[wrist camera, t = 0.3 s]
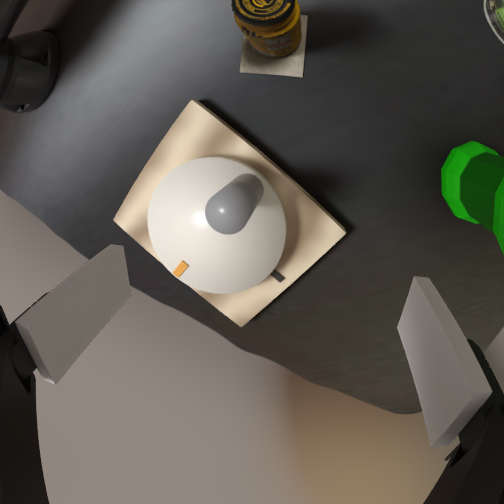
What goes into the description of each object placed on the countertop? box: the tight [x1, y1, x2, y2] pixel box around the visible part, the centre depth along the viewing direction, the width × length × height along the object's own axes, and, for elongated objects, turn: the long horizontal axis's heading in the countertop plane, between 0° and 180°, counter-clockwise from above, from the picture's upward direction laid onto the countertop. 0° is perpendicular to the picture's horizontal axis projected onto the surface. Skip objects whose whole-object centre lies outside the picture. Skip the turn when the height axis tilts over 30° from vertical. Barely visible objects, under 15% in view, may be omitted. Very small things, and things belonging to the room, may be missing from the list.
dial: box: [147, 156, 287, 294], centre depth 32 cm, size 17×17×11 cm
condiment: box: [231, 0, 308, 77], centre depth 23 cm, size 7×8×12 cm
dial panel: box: [114, 100, 346, 327], centre depth 38 cm, size 24×20×2 cm
